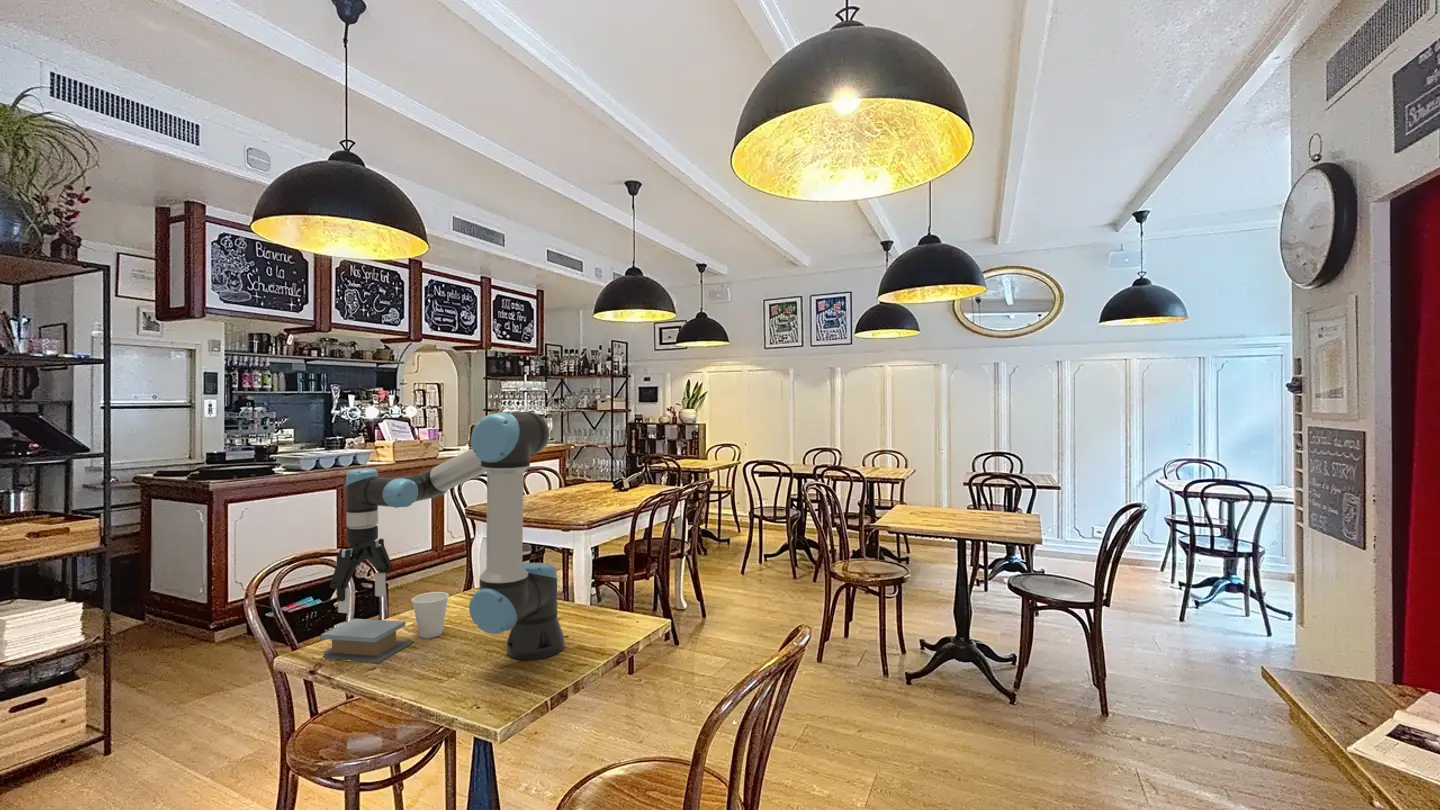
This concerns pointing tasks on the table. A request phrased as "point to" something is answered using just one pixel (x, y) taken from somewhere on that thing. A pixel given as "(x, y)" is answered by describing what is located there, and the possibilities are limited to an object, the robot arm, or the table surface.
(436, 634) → the cup
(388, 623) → the sheet
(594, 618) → the table surface
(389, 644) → the brown block on plate
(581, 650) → the table surface
